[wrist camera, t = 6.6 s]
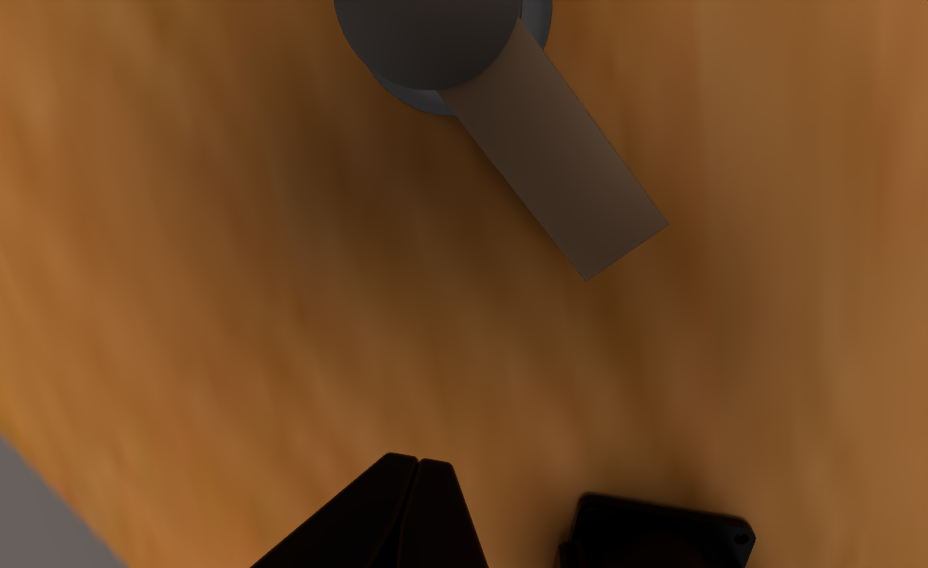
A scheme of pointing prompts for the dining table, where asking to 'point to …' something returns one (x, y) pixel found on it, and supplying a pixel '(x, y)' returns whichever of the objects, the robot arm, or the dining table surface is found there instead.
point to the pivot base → (429, 101)
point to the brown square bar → (512, 116)
